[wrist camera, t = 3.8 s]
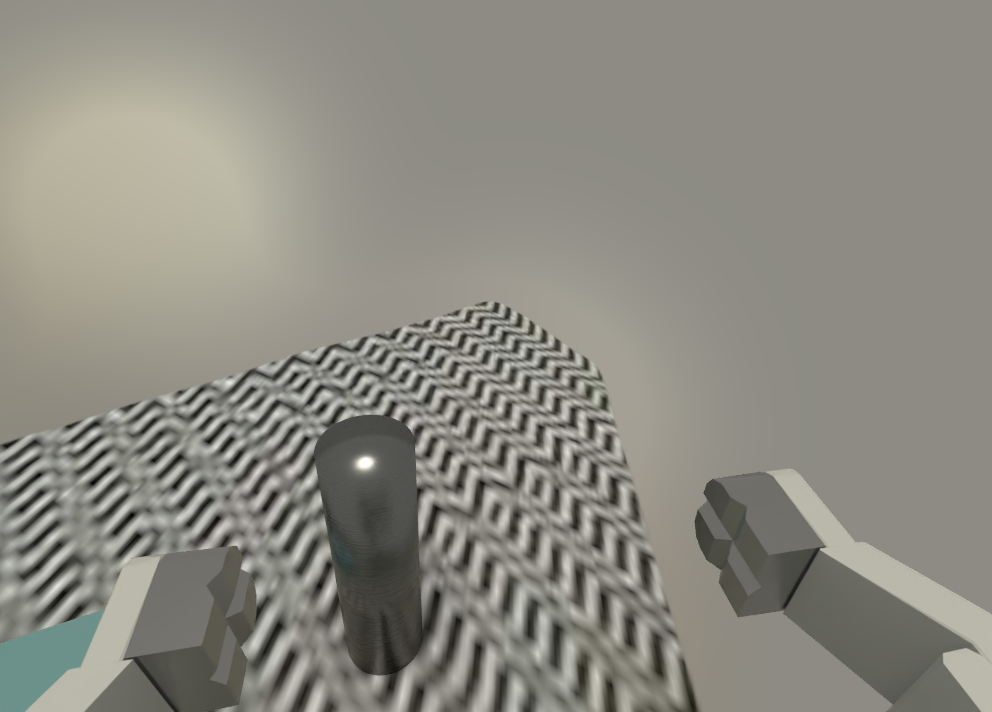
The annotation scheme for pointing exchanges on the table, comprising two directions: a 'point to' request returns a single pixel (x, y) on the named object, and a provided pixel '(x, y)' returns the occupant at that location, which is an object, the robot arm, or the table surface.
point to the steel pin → (373, 537)
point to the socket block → (42, 660)
